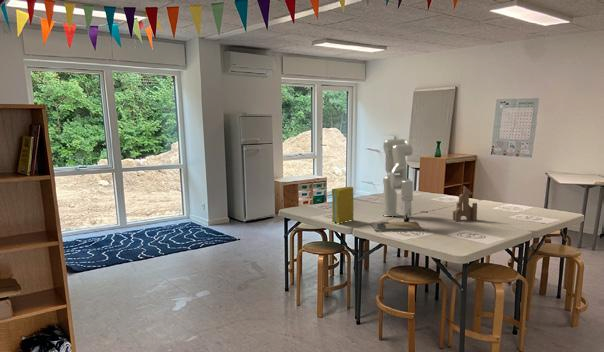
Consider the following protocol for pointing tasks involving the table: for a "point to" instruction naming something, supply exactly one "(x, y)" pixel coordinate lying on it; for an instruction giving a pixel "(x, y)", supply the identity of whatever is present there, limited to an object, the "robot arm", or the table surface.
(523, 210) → the table surface
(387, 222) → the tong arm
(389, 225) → the tongs fixed
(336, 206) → the book
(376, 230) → the mat
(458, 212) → the wooden toy
